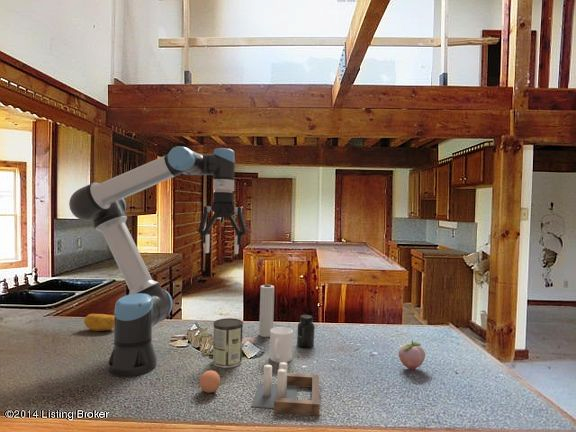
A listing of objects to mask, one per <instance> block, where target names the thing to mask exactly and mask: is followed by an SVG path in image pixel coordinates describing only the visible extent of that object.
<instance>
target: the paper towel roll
mask: <svg viewBox="0 0 576 432" xmlns="http://www.w3.org/2000/svg"><path fill="white" fill-rule="evenodd" d="M259 289H260V292H259V293H260V298H259V324H258V325H259V327H258V328H259V330H258V334H259V335H258V336H260V337H263V338H270V330H271V329H272V328H274V318H275V317H274V315H275V313H274V312H275V307H274V306H275V286H274V285H272V284H263V285H260V288H259Z"/></svg>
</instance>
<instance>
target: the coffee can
mask: <svg viewBox="0 0 576 432" xmlns="http://www.w3.org/2000/svg"><path fill="white" fill-rule="evenodd" d="M243 326H244V321H243V320H241V319H239V318H233V317H232V318H231V317H227V318H220V319H217V320H214V322H213V341H212V342H213V344H212V345H213V347H212V348H213V349H212V353H213V354H212V355H213V356H212V359H213V360H212V364H213V365H214V366H216V367H218V368H222V369H223V368H224V369H230V368H234V367H235V368H236V367H238V366H240V365H241V364H242V363H243Z"/></svg>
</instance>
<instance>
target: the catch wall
mask: <svg viewBox="0 0 576 432" xmlns="http://www.w3.org/2000/svg"><path fill="white" fill-rule="evenodd" d="M287 385H297V387H301V388H303V387H304V388H305V387H306V388H311V399H299V398H298V399H297V398H296V399H287V398H275V400H274V409H273V413H274V414H275V413H276V414H278V413H279V414H287V415H288V414H289V415H303V416H304V415H305V416H317V417H318V416H320V406H321V405H320V375H319V374H310V373H308V374H307V373H295V372H294V373H293V372H292V373H291V372H287Z"/></svg>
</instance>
